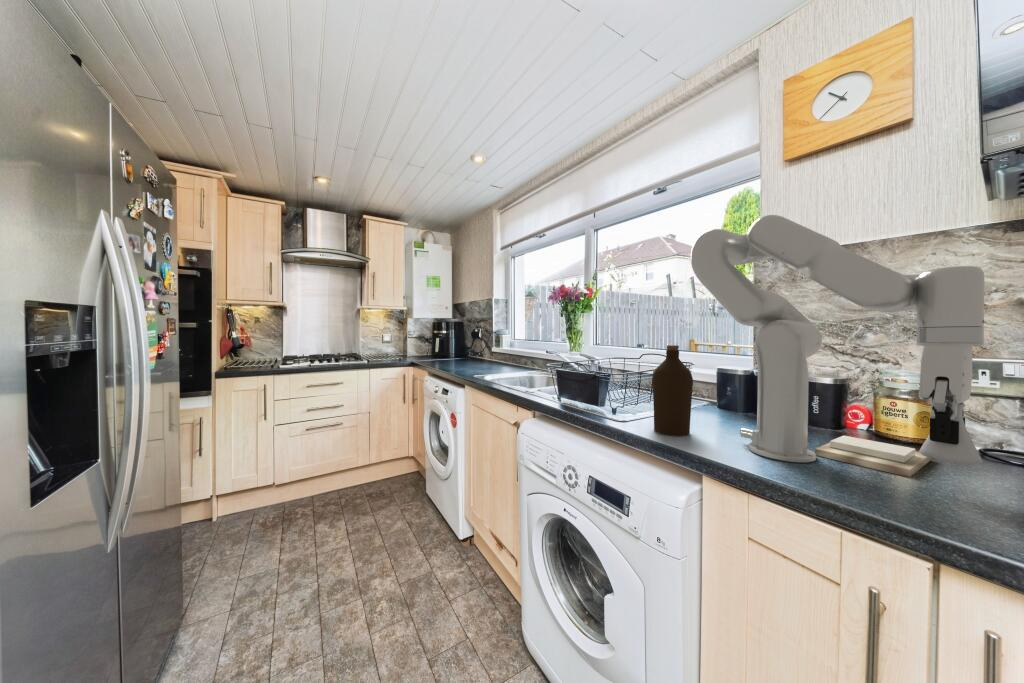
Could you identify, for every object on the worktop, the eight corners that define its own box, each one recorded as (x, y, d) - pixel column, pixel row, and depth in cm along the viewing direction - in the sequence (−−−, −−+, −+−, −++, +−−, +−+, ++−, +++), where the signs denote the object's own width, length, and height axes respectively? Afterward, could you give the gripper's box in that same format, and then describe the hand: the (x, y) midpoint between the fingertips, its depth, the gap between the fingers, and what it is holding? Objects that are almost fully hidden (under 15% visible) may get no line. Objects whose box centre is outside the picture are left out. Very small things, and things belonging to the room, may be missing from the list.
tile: (843, 441, 89) (829, 447, 84) (843, 435, 89) (830, 440, 84) (915, 455, 78) (904, 463, 74) (915, 448, 78) (904, 455, 74)
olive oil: (667, 438, 96) (668, 346, 96) (644, 428, 106) (645, 345, 106) (700, 435, 98) (702, 346, 98) (675, 426, 109) (676, 344, 108)
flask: (922, 449, 68) (922, 397, 68) (984, 460, 62) (985, 403, 62) (915, 456, 64) (915, 401, 64) (981, 469, 58) (982, 408, 58)
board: (814, 455, 83) (815, 448, 83) (842, 443, 92) (842, 437, 92) (909, 477, 70) (909, 469, 70) (930, 460, 80) (930, 453, 80)
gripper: (927, 337, 70) (926, 428, 71) (904, 337, 62) (903, 442, 62) (990, 337, 64) (989, 438, 64) (975, 337, 55) (973, 454, 55)
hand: (947, 438), depth 63 cm, fingers closed on flask, 4 cm apart
